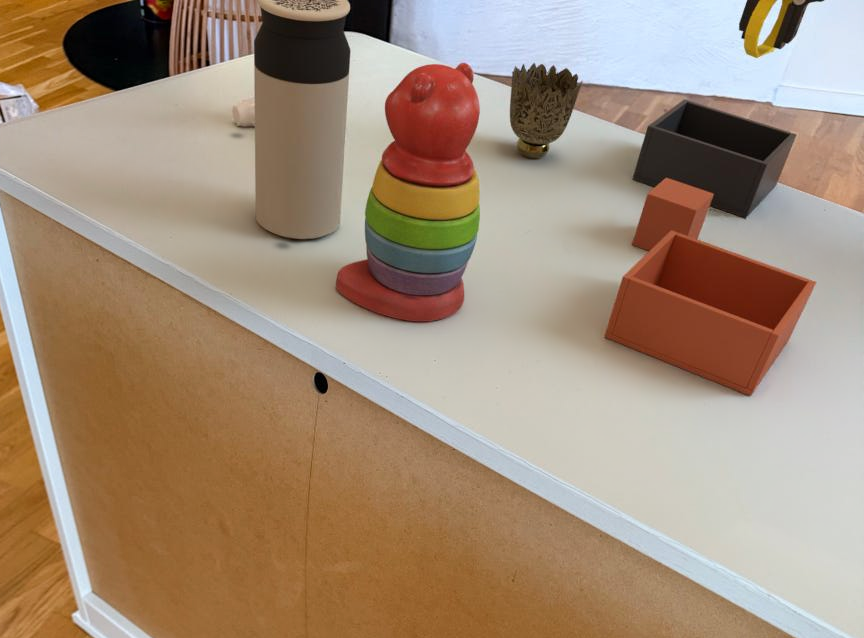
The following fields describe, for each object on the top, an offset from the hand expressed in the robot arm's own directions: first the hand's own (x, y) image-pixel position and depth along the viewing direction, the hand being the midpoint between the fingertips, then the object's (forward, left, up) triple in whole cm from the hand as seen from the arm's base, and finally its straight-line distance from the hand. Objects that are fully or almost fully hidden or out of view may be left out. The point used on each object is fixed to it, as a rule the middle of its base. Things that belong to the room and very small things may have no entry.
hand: (762, 41), depth 90 cm
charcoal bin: (+1, -2, -15) cm, 15 cm away
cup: (+19, +6, -15) cm, 25 cm away
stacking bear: (+13, +42, -15) cm, 46 cm away
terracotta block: (-1, +16, -15) cm, 22 cm away
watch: (0, 0, -1) cm, 1 cm away
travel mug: (+28, +38, -15) cm, 50 cm away
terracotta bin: (-10, +31, -15) cm, 36 cm away
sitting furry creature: (+42, +21, -15) cm, 49 cm away
